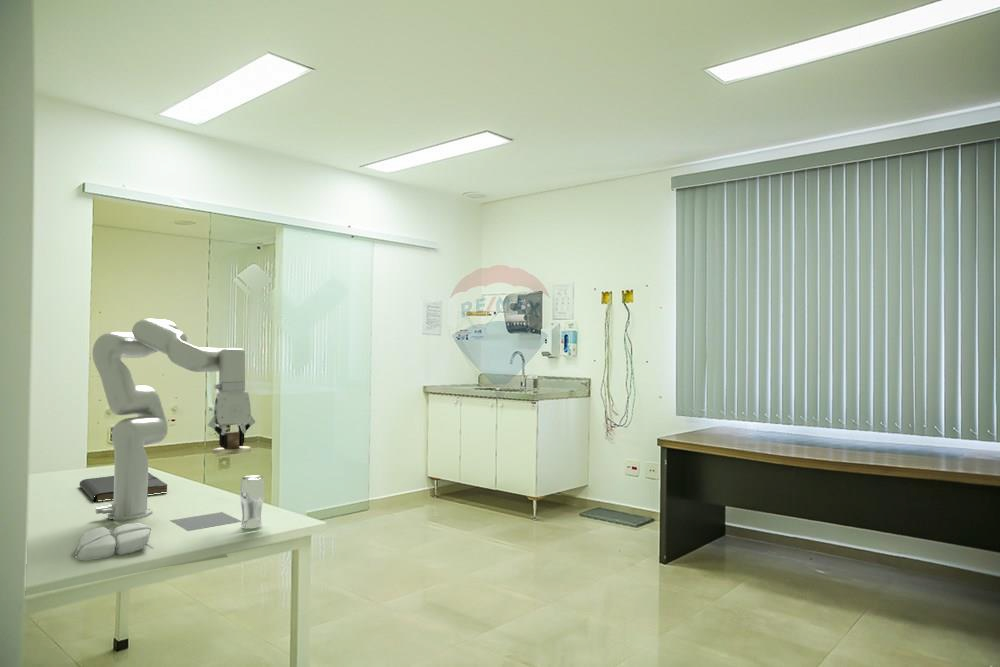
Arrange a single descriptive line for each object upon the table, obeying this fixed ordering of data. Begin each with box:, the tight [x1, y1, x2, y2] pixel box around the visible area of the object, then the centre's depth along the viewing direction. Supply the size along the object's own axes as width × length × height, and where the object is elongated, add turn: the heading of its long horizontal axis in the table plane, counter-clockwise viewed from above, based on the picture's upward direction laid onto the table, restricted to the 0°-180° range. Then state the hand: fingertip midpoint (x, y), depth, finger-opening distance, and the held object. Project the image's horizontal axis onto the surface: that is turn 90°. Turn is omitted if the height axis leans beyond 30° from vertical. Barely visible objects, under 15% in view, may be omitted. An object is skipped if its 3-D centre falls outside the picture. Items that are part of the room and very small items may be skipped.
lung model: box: [74, 522, 152, 561], centre depth 175 cm, size 7×17×25 cm
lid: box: [211, 431, 252, 455], centre depth 198 cm, size 11×11×6 cm
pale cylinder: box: [239, 475, 266, 529], centre depth 195 cm, size 7×7×15 cm
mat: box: [170, 511, 242, 532], centre depth 199 cm, size 16×16×1 cm
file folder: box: [79, 472, 168, 502], centre depth 244 cm, size 33×4×24 cm
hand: (231, 446), depth 198 cm, fingers closed on lid, 4 cm apart
